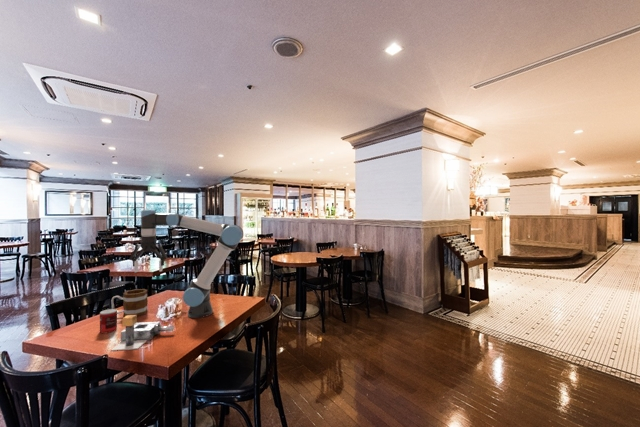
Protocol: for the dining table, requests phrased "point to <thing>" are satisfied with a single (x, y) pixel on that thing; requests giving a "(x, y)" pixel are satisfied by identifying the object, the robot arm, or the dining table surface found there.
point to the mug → (133, 302)
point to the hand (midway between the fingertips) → (148, 271)
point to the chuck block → (146, 330)
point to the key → (129, 328)
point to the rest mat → (122, 346)
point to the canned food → (108, 320)
